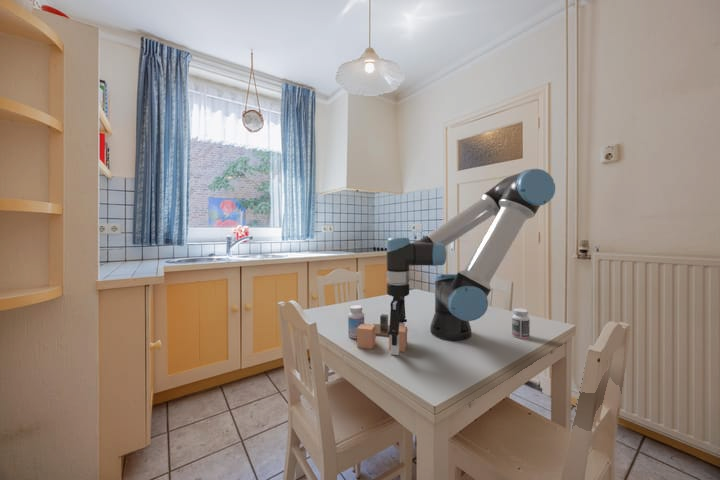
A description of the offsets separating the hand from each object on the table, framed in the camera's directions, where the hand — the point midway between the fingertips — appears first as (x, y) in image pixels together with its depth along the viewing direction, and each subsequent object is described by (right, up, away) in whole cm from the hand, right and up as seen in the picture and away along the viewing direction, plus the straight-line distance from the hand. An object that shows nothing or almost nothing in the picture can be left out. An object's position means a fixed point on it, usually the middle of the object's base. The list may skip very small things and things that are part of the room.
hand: (398, 347), depth 98 cm
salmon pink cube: (0, 0, 0) cm, 0 cm away
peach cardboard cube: (-11, 0, +2) cm, 11 cm away
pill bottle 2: (+47, 0, +9) cm, 48 cm away
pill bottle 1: (-14, 0, +11) cm, 18 cm away
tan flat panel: (-3, 0, +16) cm, 16 cm away
